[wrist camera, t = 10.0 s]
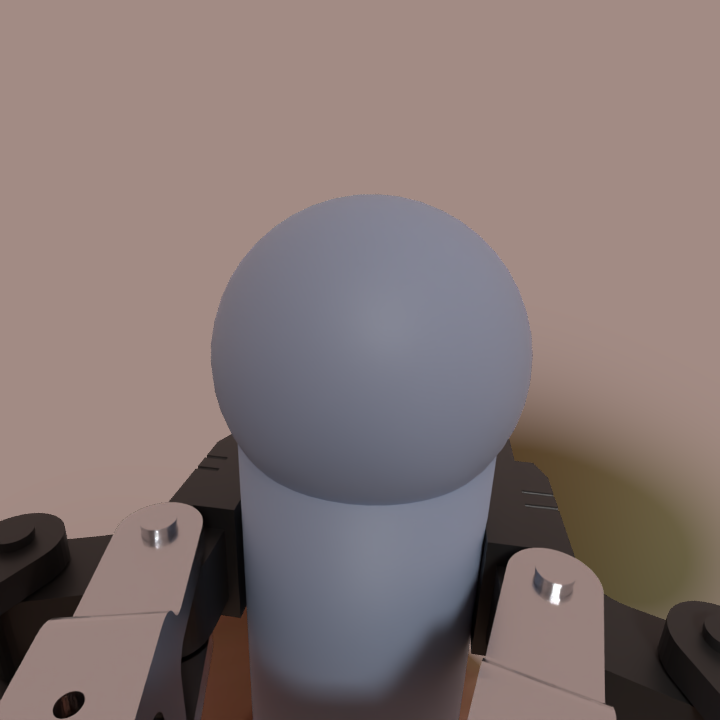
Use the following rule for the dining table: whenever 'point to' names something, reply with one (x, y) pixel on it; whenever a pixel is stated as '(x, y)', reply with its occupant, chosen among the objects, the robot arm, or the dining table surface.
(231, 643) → the dining table surface
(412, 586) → the pawn
